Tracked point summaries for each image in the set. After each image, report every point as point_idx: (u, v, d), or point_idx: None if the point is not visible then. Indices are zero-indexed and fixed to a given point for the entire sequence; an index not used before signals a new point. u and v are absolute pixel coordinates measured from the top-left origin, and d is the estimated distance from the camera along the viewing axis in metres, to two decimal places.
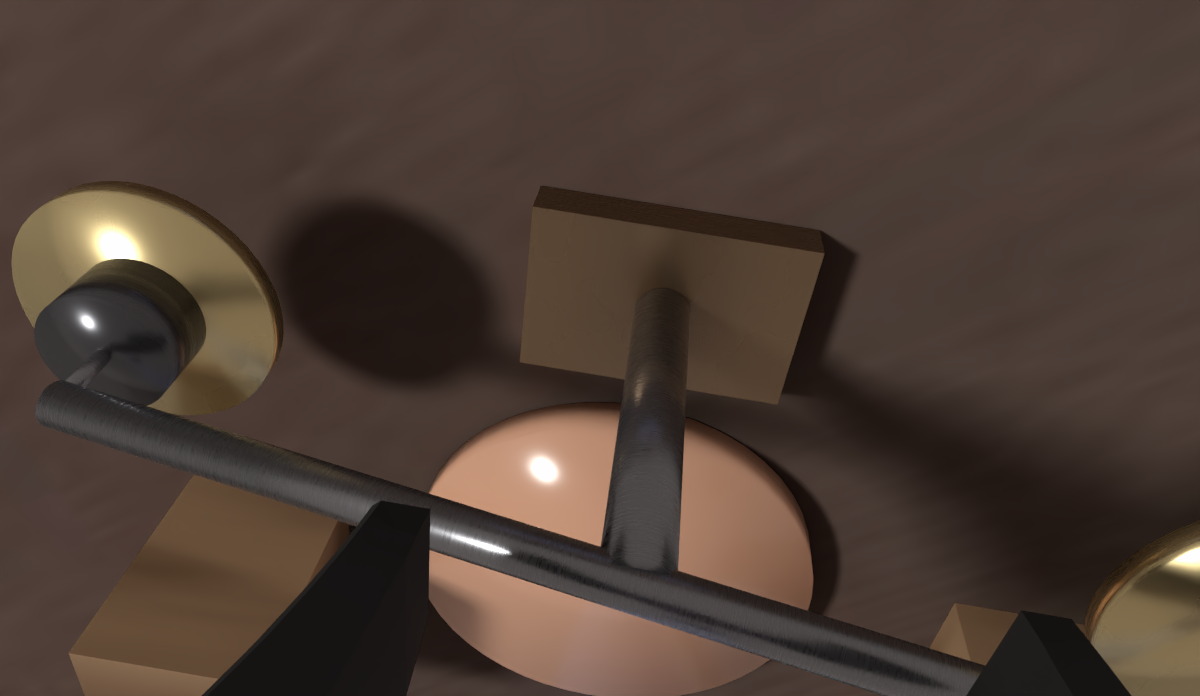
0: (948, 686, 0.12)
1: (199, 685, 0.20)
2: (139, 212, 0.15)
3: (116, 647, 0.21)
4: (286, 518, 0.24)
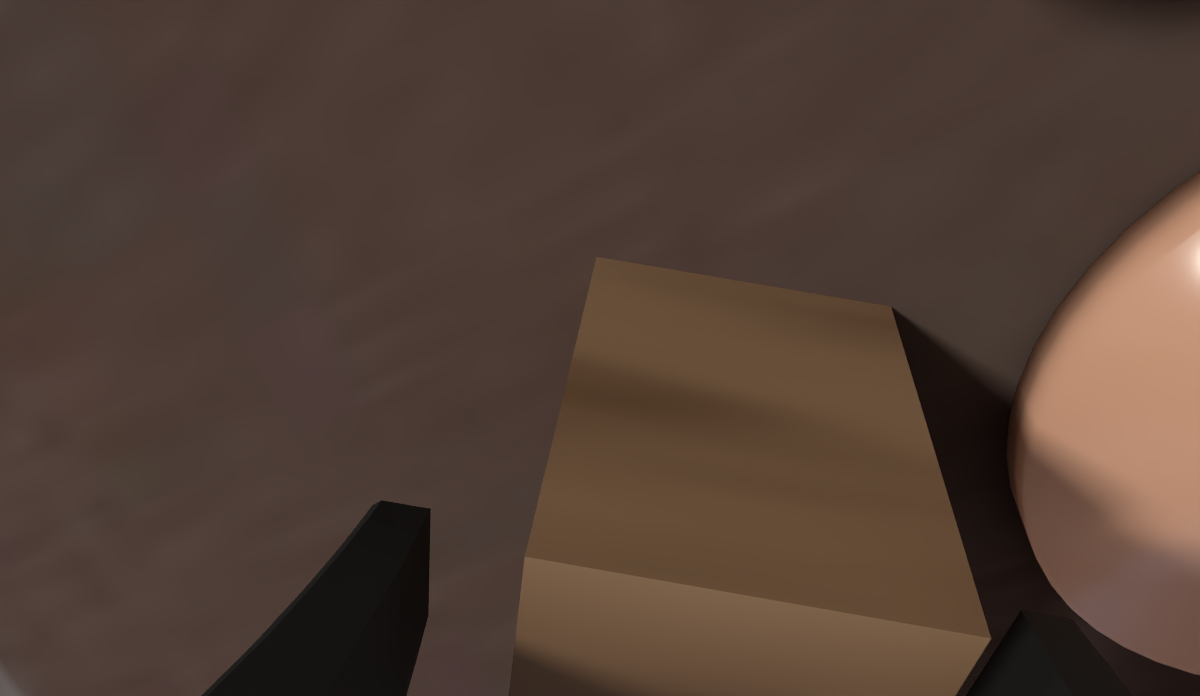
0: None
1: (826, 638, 0.09)
2: None
3: (625, 547, 0.09)
4: (806, 327, 0.12)
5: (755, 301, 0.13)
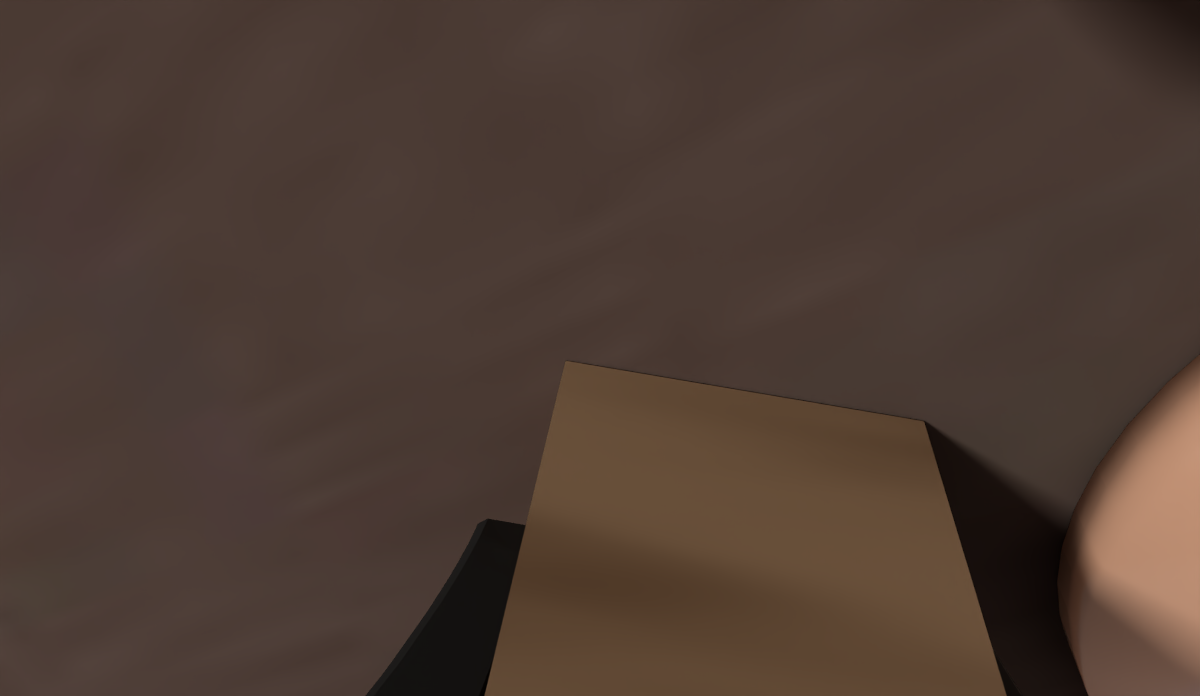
0: None
1: None
2: None
3: None
4: (821, 458, 0.10)
5: (759, 421, 0.10)
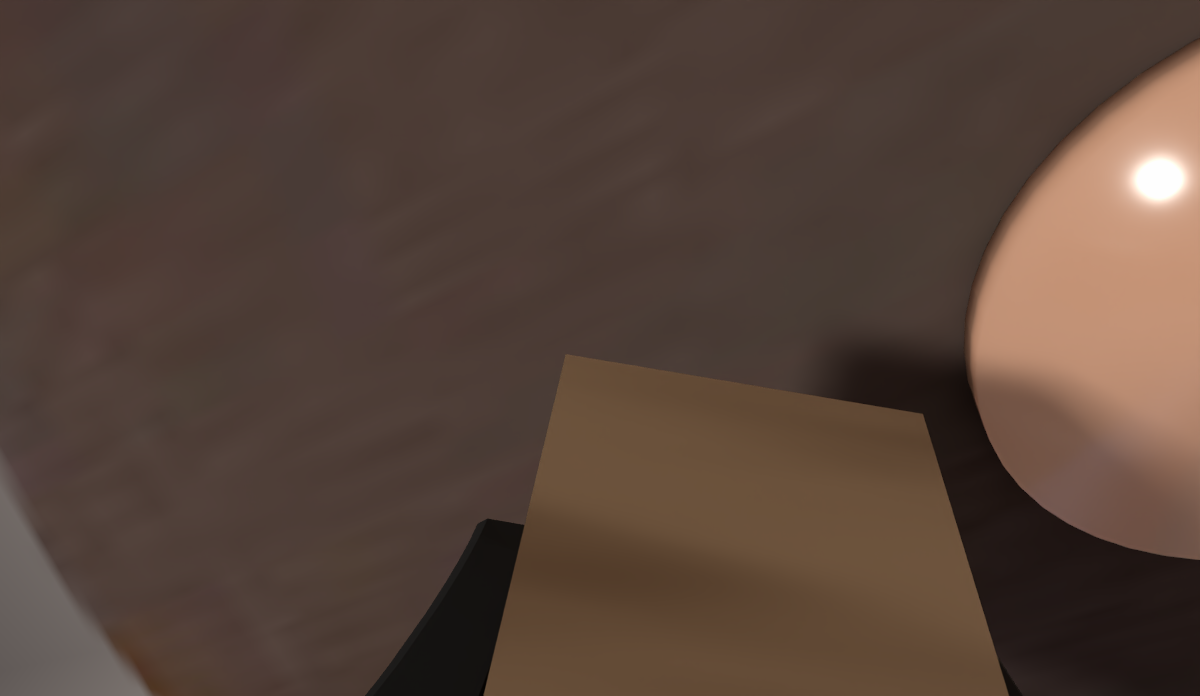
0: None
1: None
2: None
3: None
4: (821, 450, 0.10)
5: (759, 414, 0.10)
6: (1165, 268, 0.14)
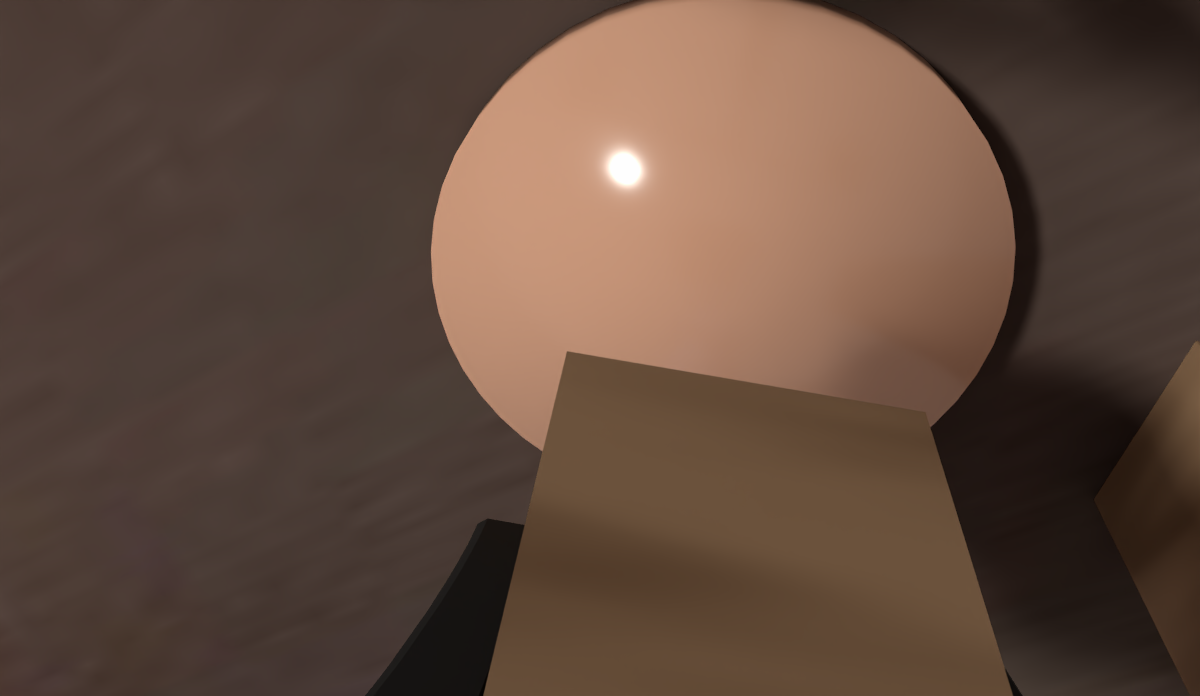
0: None
1: None
2: None
3: None
4: (823, 448, 0.10)
5: (761, 411, 0.10)
6: (557, 241, 0.17)
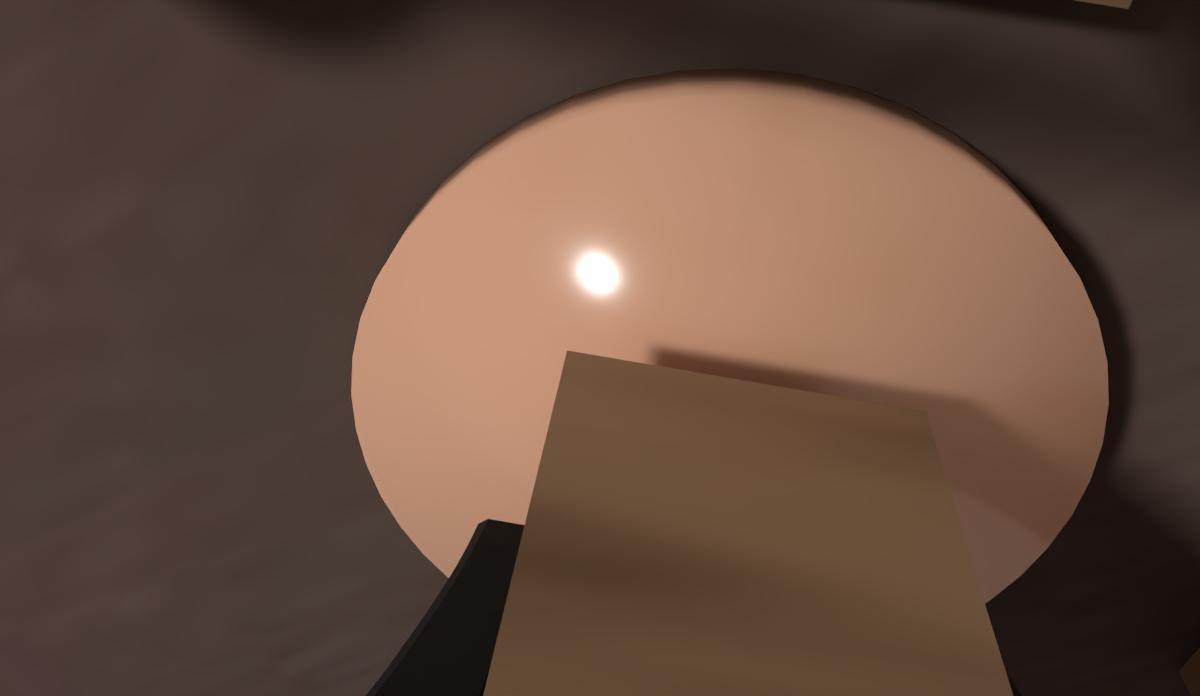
0: None
1: None
2: None
3: None
4: (823, 447, 0.10)
5: (761, 410, 0.10)
6: (511, 385, 0.13)
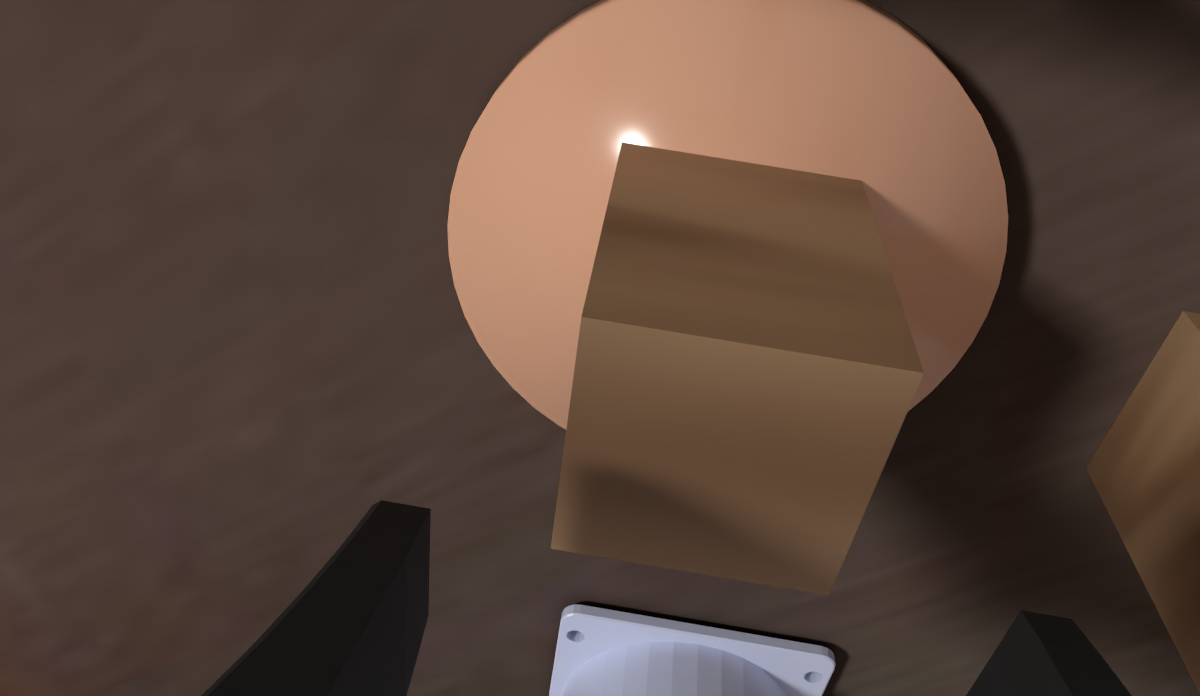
0: None
1: (803, 378, 0.12)
2: None
3: (654, 314, 0.12)
4: (792, 192, 0.15)
5: (751, 174, 0.16)
6: (569, 214, 0.17)
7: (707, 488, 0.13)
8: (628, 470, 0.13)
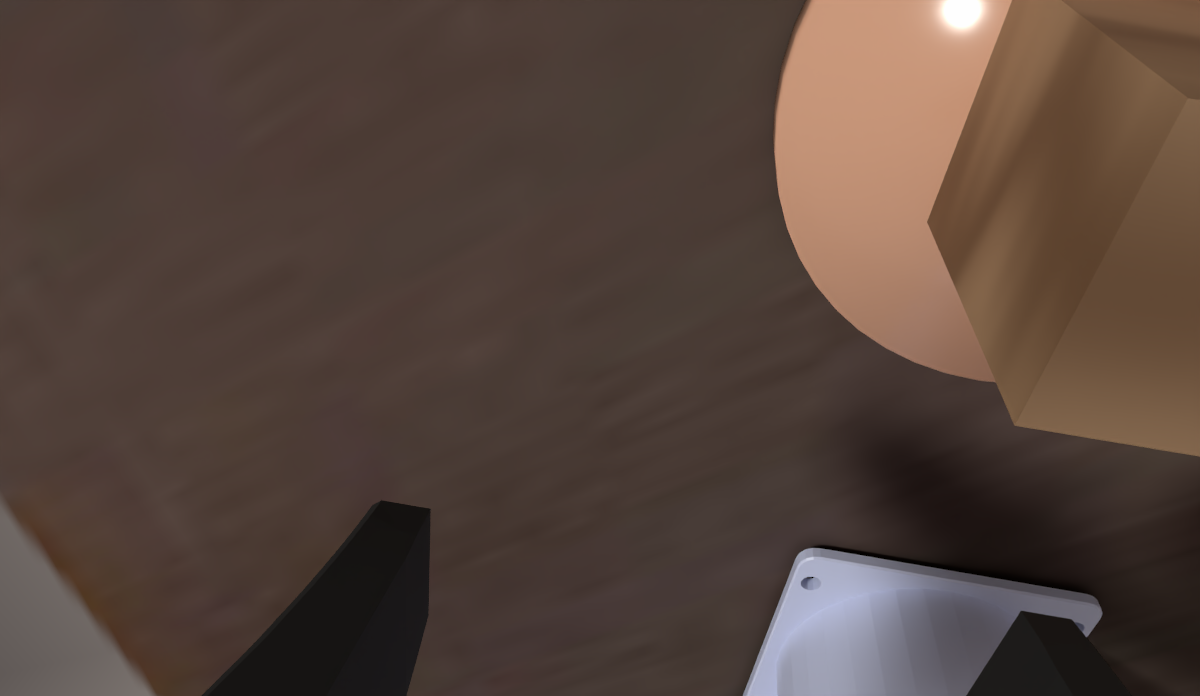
0: None
1: None
2: None
3: None
4: None
5: (1189, 3, 0.13)
6: (935, 66, 0.15)
7: None
8: (1161, 317, 0.11)
